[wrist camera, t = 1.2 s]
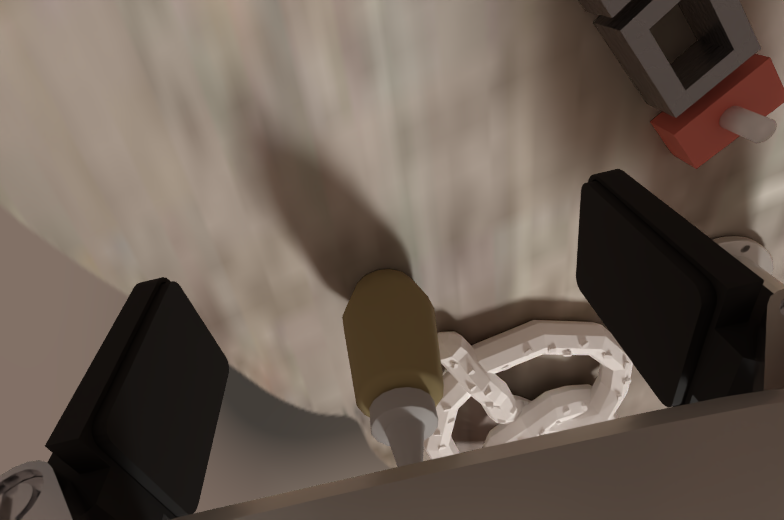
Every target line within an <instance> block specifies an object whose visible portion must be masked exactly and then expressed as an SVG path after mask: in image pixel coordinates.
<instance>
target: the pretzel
mask: <svg viewBox="0 0 784 520" xmlns="http://www.w3.org/2000/svg"><path fill="white" fill-rule="evenodd" d="M437 335H438V343H439V351H440V359H441V364H442V365H443V366H444V367H445V368H446V369H447V370H448V371H447V372H446V373H445V374H444V375H443V382H444V391H443V397H442V399H441V400H440V402H439V403H438V405H437V407H436V411H437V415H438V427H437V429H436V430H435V432H434V433H433V435H432V436H430V437H429V438H427V439H426V440H424V449H425V451H426V453H427V454H428V456H429V458H430V459H436V458H440V457H445V456H449V455H454V454H458V453H460V452H459V450H458V449H457V447H456V445H455V443H454V441H453V439H452V437H451V434H452V430H453V427H454V423H455V419H456V415H457V411H458V408H459V407H460V406H462V405H463V404H464V403H465V402H466V401H467V400H468V399H469V398H470V397H471V396H472V397H473V398H474V399H475V400H477V401H478V402H479V403H481V405H482V406H483V408H484V410H485V411H486V413H487V415H488V416H489V417H490V418H491V419H492V420H494V421H495V422H496V423H500V424H499V425H497V426H496V427H494V428H493V429H491V430H490V431H489V433H488V435H487V438H486V440H485V442H484V444H483V446H482V448H485V447H490V446H494V445H499V444H503V443H508V442H512V441H517V440H521V439H526V438H531V437H535V436H540V435H543V434H549V433H553V432H558V431H563V430H567V429H572V428H576V427H581V426H585V425H590V424H594V423H599V422H604V421H608V420H613V419H617V418H619V417H618V414H617V413H616V410H617V408H618V407H619V405H620V404H621V402H622V400H623V399H624V397H625V396H626V394H627V392H628V389H629V383H631V379H630V377H631V371H632V365H633V363H632V361H631V360H630V359H629V357H628V356H627V354H626V353H625V352H624V350H623V349H622V348H621V346H620V345H619V343H618V342H617V341H616V339H615V338H614V337H613V335H612V334H611V333H610V332H609V331H608V330H607V329H606V328H605V327H604V326H603V325H600V324H597V323H594V322H579V321H552V320H532V321H530V322H527V323H525V324H522V325H520V326H517V327H515V328H513V329H510V330H508V331H505V332H503V333H500V334H498V335H495V336H493V337H491V338H488V339H486V340H483V341H481V342H478V343H476V344H473V345H472V346H471V345H470V344H469V343H468V342H467V341H466V340H465V339H464V338H463V337H462V336H461V335H460V334H458V333H456V332H455V331H449V332H439V333H438V334H437ZM542 354H558V355H563V356H564V357H565V356H572V355H589V356H591V357H592V358H594V359H595V360H596V361H598V362H599V363H600V365H599V373H598V376H597V378H596V380H595V382H594V384H593V386H591V385H589V384H583V385H569V386H563V387H559V388H556V389H552V390H549V391H545V392H544V393H543V394H541V395H540V396H538V397H537V398H536V399H534V400H533V401H531V400H528V399H526V398H523V397H520V396H518V395H512V393H511V391H510V389H509V387H508V386H507V384H506V383H505V382H504V381H503V380H502V379H501V378H499V377H498V376H497V375H496V374H495V373H498V372H500V371H504V370H507V369H509V368H510V367H513V366H515V365H518V364H520V363H523V362H525V361H528V360H530V359H532V358H535V357H537V356H540V355H542Z"/></svg>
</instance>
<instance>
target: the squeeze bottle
mask: <svg viewBox="0 0 784 520" xmlns="http://www.w3.org/2000/svg"><path fill="white" fill-rule="evenodd" d="M342 318H343V326H344V333H345V339H346V345H347V351H348V356H349V362H350V368H351V374H352V380H353V386H354V392H355V398H356V404H357V407H358V408H359V409H360V410H361V411H362V412H363V414H364V415H366V416H368V417H370V424H371V434H372V436H373V437H374V438H375V439H376V440H377V441H378V442H380V443H383V444H385V445H387V446H390V447H391V450H392V452H393V455H394V458H395V461H396V464H397V466H398V467H400V466H405V465H409V464H414V463H418V462H423V450H424V440H426V439H427V438H429V437H430V436H432V435H433V433H434V432H435V430H436V429H437V427H438V415H437V411H436V407H437V405H438V403H439V402H440V400H441V399H442V397H443V391H444V382H443V374H442V366H441V359H440V351H439V343H438V335H437V327H436V319H435V312H434V307H433V305H432V304H431V302H430V300H429V298H428V296H427V295H426V294H425V293H424V292H423V291H422V290H421V288H420V287H419V286H418V285H417V284H416V283H415V282H414V281H413V280H412V279H411V278H410V277H409V276H407V275H406V274H405V273H403V272H401V271H397V270H393V269H384V270H377V271H374V272H372V273H370V274H367V275H365V276H364V277H363V278H362V279H361V280H360V281H359V282H358V283H357V285H356V287H355V290H354V292H353V294H352V296H351V298H350V300H349V302H348V305H347V307H346V309H345V312H344V314H343V317H342Z"/></svg>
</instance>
